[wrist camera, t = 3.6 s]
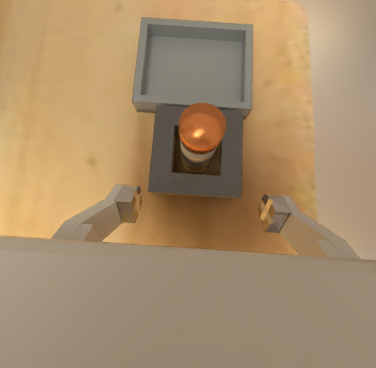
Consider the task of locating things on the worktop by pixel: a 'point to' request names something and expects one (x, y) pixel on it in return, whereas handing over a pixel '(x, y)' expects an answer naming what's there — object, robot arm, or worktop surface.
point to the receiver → (195, 183)
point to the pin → (200, 134)
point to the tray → (193, 65)
